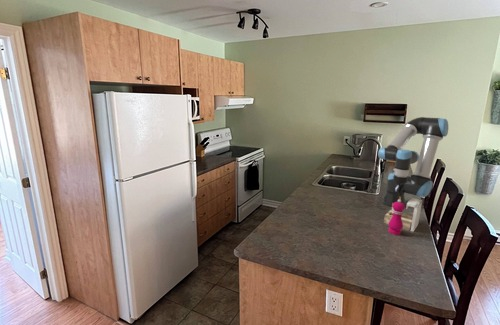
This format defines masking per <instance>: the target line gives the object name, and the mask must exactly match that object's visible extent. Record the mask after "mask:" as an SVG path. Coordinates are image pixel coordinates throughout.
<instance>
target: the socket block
mask: <svg viewBox="0 0 500 325" xmlns="http://www.w3.org/2000/svg"><path fill="white" fill-rule="evenodd" d="M391 211H392V209H390V210H389V211H388V212H386V214H384V218H383V224H386V225H388V224H389V221H390V220H391V218H392V216H393V215H391ZM412 219H413V214H408V213H404V212H403V214H402V215H401V220H402V223H403V228H402V229H401V230H407V231H410V230H411V224H412Z"/></svg>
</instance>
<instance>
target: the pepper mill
mask: <svg viewBox="0 0 500 325" xmlns="http://www.w3.org/2000/svg"><path fill="white" fill-rule="evenodd" d="M392 207H393V216H392V218H391V220H390V221H389V224H387V225H388V233H389V234H392V235H394V236H400V235H401V234H402V230H403V229H402V228H403V223H402V220H401V215H402V214H403V213H404V210H406V205H405V206H404V204H403V203H402V202H401V200H400V199H399V200H398V202H394V203H393V206H391V208H392Z"/></svg>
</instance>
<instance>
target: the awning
mask: <svg viewBox="0 0 500 325" xmlns="http://www.w3.org/2000/svg"><path fill="white" fill-rule="evenodd" d="M422 206H423V199H419V198H414V197H412V198H410V199H409V200H408V201H407V202H406V205H405V210H407V209H409V208H410V207H411V208H414V209H413V212H412V216H413V219H412V224H411V229H410V230H409V231H410V232H413V233H414V232H415V230H416V228H417V227H418V226H419V222H420V216H421V209H422Z"/></svg>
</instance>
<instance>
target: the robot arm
mask: <svg viewBox="0 0 500 325" xmlns="http://www.w3.org/2000/svg"><path fill="white" fill-rule="evenodd" d="M448 133H449V121H448V119H447V118H442V117H424V116H421V117H416V118H413V119H411V120H410V121H407V122H406V123H405V124H404V125H403V126H402V128H401V131H400V132H399V133H397V135H396V137H394V138H393V140H392V141H391V142H390V143H389V144H388V145H387V146H386V147H384V146H383V147H380V148H379V150H378V152H377V153H378V154H377V155H378V158H379V159H380V160H385V161H391V162H395V165H394V168H393V171H394V172H390V173H388V177H387V183H386V191H385V193H384V195H383V197H382V201H381V202H382V203H383V205H386V206H389V207H391V210H392V213H393V207H392V205H393V203H394V202H398V200H399V196H401V202H402V203H403V204H404V206H405V207H406V205H407V202H406V198H405V193H406V194H408V195H413V196H416V197H421V198H425V197H427V196H429V194H430V192H432V188H433V185H434V183H433V181H432V178H431V176H430V175H431V174H430V173H431V171H432V166H433V163H434V160H435V157H436V153H437V150H438V146H439V142H440V141H442V140H443V138H445V137H447V135H448ZM416 135H422V138H423V141H422V145H421V149H420V151H419V153H418V152H417V151H415V150H410V149H403V147H404V146H406V145H407V143H408V142H409V140H410V139H411V138H412V137H414V136H416ZM415 163H416V166H415V170H414V172H413V173H411V174H410V168H411V165H412V164H415ZM409 174H410V176H409Z"/></svg>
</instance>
